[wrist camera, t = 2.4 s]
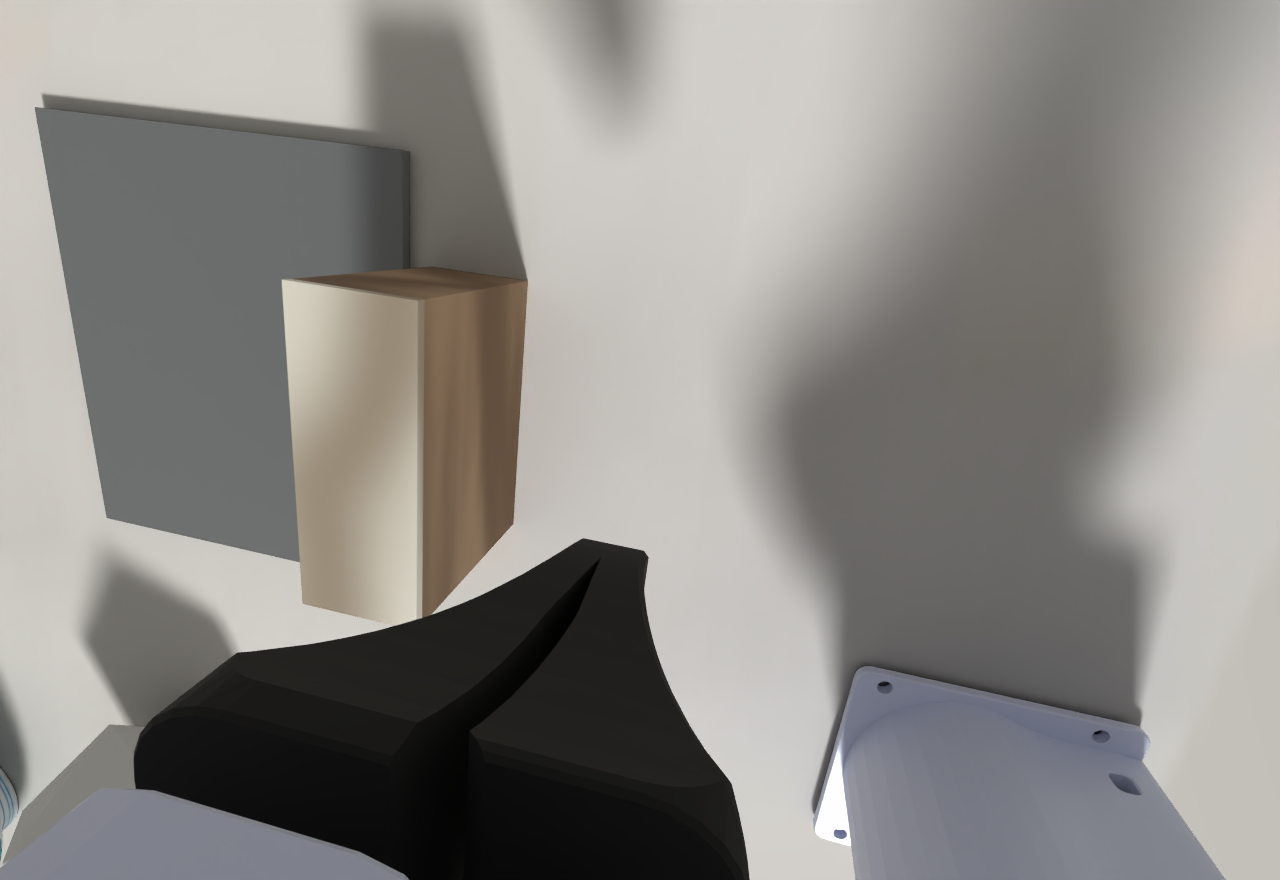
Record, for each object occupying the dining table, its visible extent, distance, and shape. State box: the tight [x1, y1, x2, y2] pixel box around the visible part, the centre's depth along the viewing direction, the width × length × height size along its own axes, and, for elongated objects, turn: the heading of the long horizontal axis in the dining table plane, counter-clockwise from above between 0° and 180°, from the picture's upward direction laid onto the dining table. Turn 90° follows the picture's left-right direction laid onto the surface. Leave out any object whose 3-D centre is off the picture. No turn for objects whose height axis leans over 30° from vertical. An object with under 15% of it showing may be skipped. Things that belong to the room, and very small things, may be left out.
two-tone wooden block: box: [282, 267, 528, 626], centre depth 19 cm, size 4×9×7 cm, turn 174°
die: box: [3, 725, 145, 866], centre depth 28 cm, size 8×9×10 cm
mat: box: [35, 107, 409, 562], centre depth 24 cm, size 14×16×1 cm
